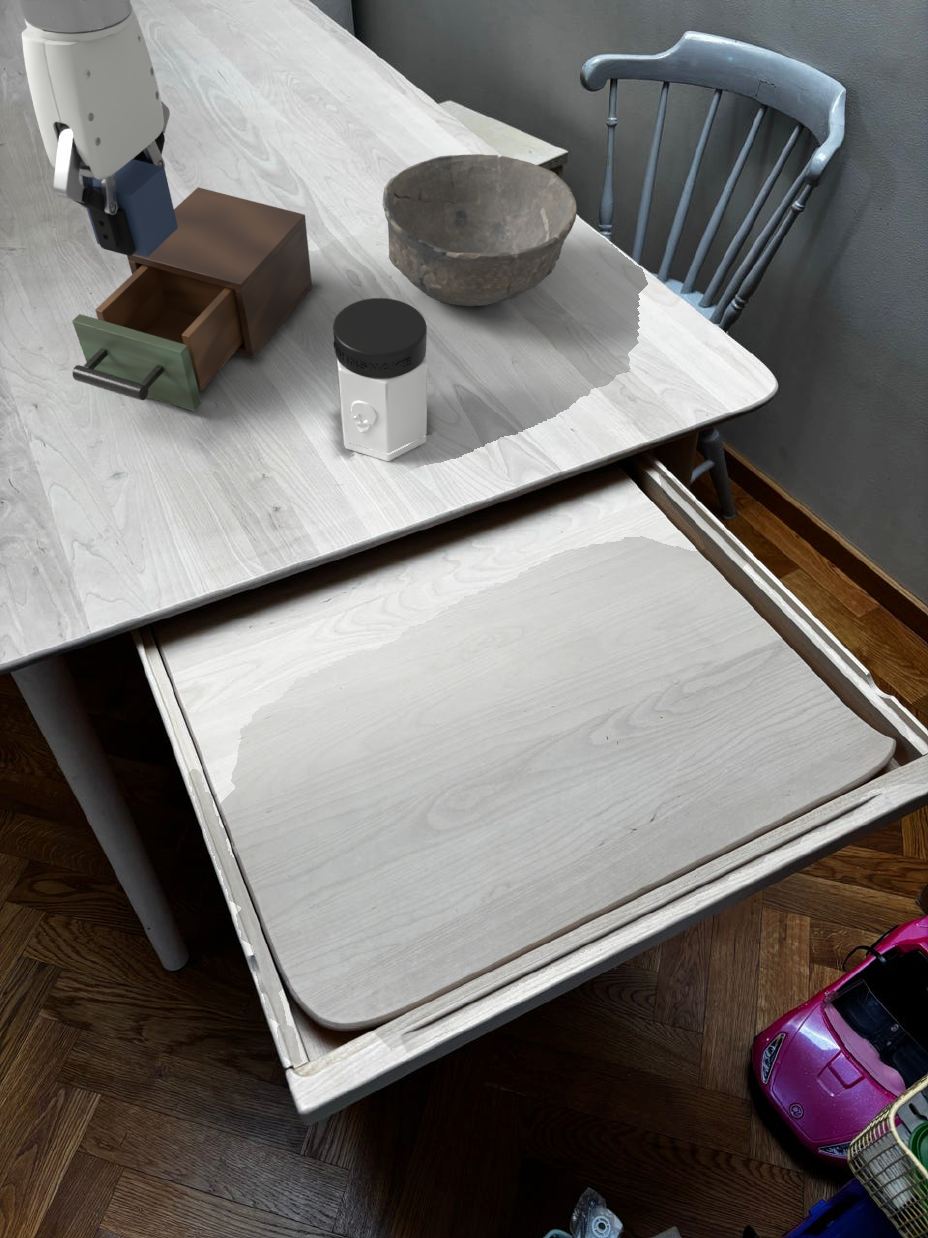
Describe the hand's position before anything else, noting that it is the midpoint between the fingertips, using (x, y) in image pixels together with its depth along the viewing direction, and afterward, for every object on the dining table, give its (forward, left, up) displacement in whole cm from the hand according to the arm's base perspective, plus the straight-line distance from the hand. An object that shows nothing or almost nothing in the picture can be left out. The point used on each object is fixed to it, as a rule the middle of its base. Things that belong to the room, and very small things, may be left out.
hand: (136, 231), depth 80 cm
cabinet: (+7, +9, -15) cm, 19 cm away
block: (0, 0, 0) cm, 0 cm away
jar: (+18, -14, -15) cm, 28 cm away
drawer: (-1, -1, -14) cm, 14 cm away
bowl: (+34, +7, -15) cm, 38 cm away
